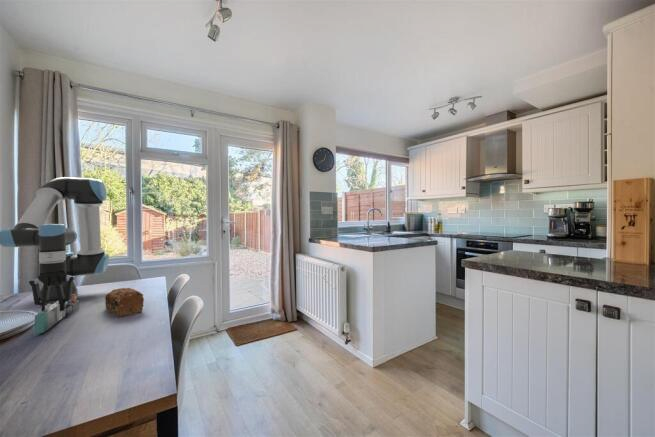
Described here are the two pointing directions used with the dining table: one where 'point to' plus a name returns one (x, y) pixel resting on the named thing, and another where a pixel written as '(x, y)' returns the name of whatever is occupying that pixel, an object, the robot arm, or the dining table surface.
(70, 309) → the base
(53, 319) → the jaw
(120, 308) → the bread
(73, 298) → the tab
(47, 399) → the dining table surface
